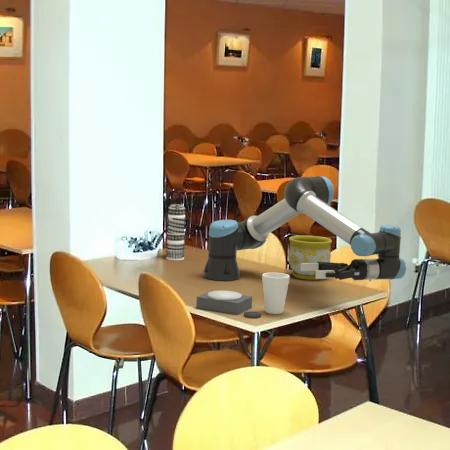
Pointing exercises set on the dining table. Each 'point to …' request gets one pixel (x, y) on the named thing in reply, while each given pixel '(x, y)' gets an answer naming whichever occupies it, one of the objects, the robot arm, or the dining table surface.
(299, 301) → the dining table surface
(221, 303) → the mount
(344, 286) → the dining table surface
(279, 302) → the foam cup
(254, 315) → the lens cap
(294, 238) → the flowerpot
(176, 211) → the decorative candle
